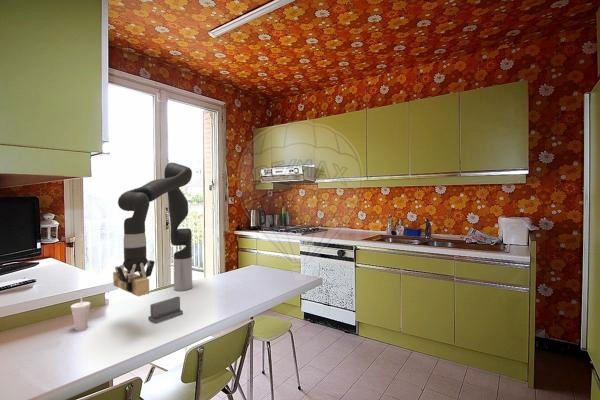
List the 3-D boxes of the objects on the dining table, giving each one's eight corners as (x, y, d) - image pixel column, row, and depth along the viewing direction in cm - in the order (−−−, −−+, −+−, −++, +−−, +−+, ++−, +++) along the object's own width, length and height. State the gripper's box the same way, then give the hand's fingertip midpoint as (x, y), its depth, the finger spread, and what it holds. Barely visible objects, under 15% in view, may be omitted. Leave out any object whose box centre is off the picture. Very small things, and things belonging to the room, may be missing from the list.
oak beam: (113, 285, 124) (113, 271, 124) (124, 282, 127) (123, 269, 127) (138, 296, 111) (137, 281, 110) (149, 293, 114) (148, 278, 114)
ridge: (148, 320, 127) (148, 303, 127) (175, 311, 137) (175, 295, 137) (155, 323, 124) (155, 306, 124) (182, 314, 133) (182, 298, 133)
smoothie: (78, 333, 116) (77, 297, 115) (67, 331, 118) (66, 295, 118) (95, 326, 122) (94, 291, 121) (83, 324, 124) (82, 290, 124)
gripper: (149, 241, 123) (150, 283, 124) (110, 246, 112) (111, 293, 113) (158, 243, 119) (159, 287, 119) (118, 249, 107) (120, 297, 108)
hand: (136, 289), depth 116 cm, fingers closed on oak beam, 4 cm apart
